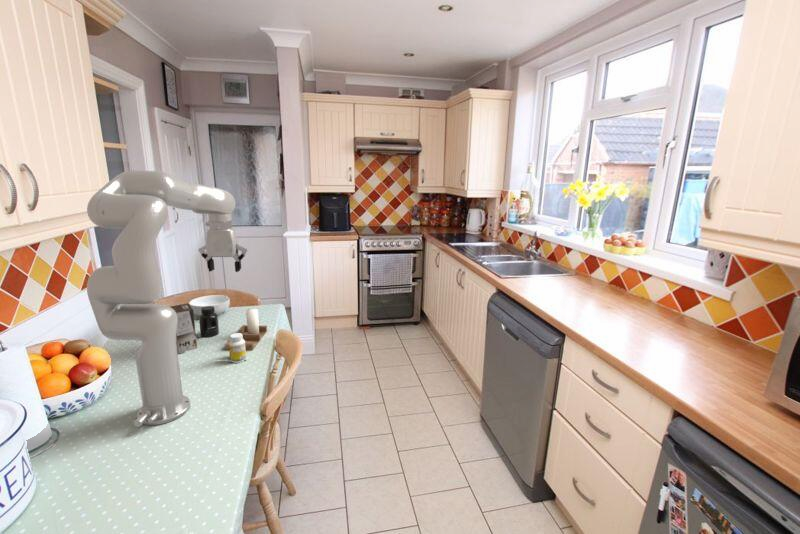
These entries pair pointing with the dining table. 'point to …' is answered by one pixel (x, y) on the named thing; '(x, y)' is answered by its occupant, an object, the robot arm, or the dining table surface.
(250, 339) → the rack
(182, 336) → the coffee box
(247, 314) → the rod
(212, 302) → the cereal bowl
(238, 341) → the supplement bottle
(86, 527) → the dining table surface
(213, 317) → the supplement bottle
